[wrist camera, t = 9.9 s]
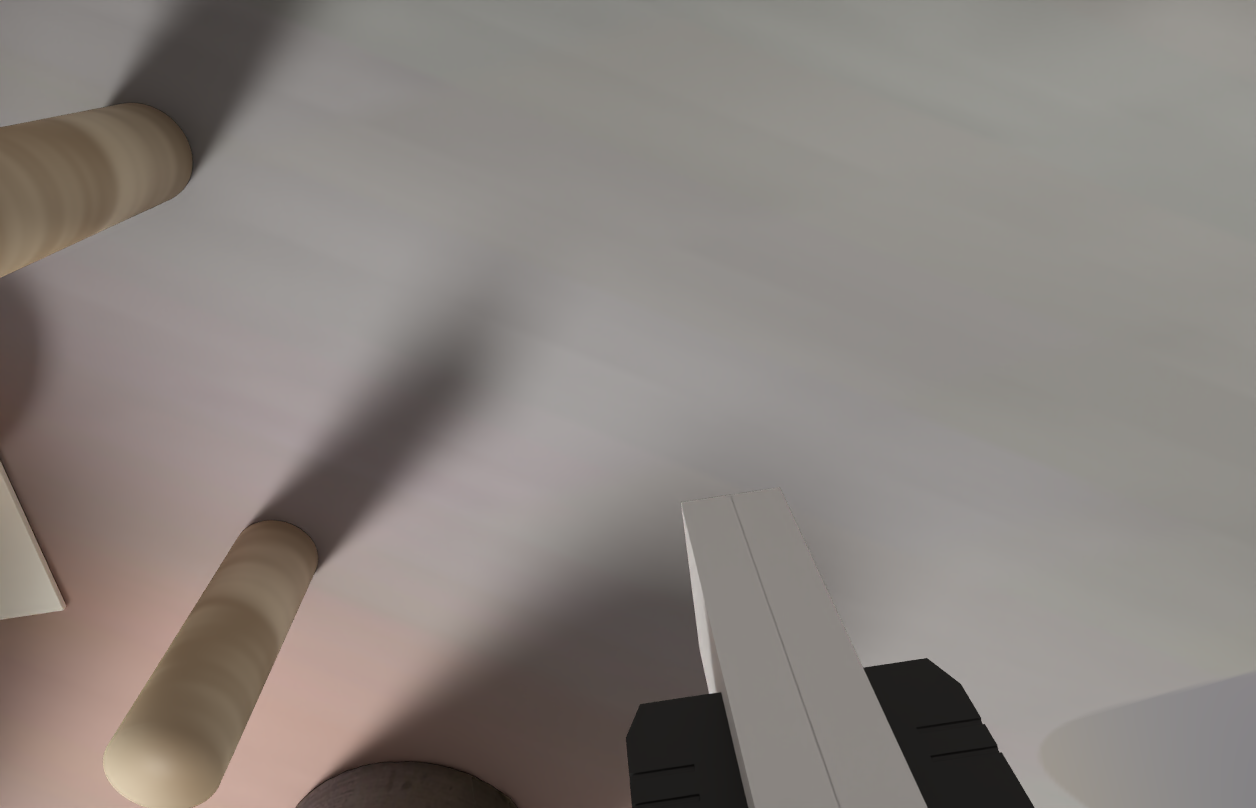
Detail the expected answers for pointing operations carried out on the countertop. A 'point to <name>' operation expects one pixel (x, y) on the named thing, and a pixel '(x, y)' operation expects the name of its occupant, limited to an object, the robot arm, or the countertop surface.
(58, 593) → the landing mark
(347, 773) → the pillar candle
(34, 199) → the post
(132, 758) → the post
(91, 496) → the countertop surface
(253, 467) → the countertop surface
